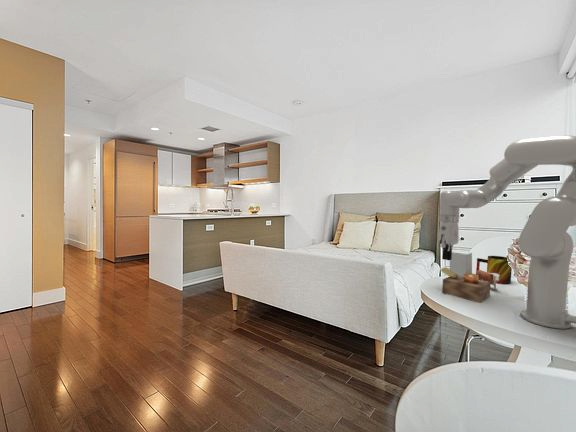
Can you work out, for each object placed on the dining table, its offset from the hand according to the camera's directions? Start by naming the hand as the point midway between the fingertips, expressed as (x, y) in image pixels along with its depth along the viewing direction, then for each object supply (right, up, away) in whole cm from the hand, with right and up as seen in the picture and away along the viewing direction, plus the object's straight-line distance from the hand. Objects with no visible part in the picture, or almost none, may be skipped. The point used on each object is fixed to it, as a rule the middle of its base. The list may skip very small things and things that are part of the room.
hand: (446, 259), depth 122 cm
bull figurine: (+21, -14, +3) cm, 25 cm away
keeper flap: (+1, -6, 0) cm, 7 cm away
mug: (+32, -13, +15) cm, 38 cm away
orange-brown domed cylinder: (+6, -14, -7) cm, 16 cm away
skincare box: (+14, -13, +13) cm, 24 cm away
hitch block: (+5, -14, -5) cm, 16 cm away
